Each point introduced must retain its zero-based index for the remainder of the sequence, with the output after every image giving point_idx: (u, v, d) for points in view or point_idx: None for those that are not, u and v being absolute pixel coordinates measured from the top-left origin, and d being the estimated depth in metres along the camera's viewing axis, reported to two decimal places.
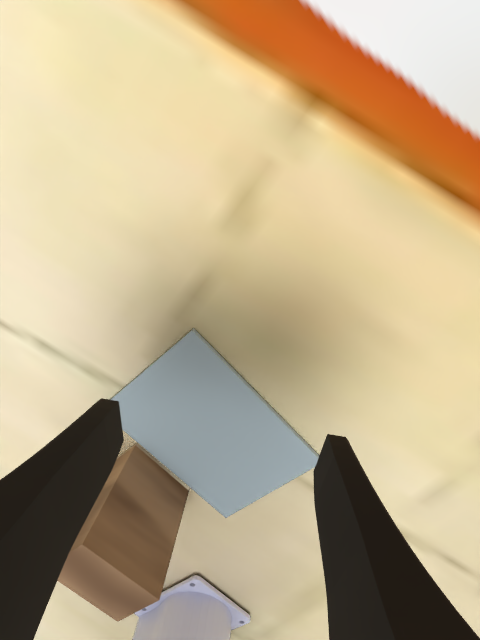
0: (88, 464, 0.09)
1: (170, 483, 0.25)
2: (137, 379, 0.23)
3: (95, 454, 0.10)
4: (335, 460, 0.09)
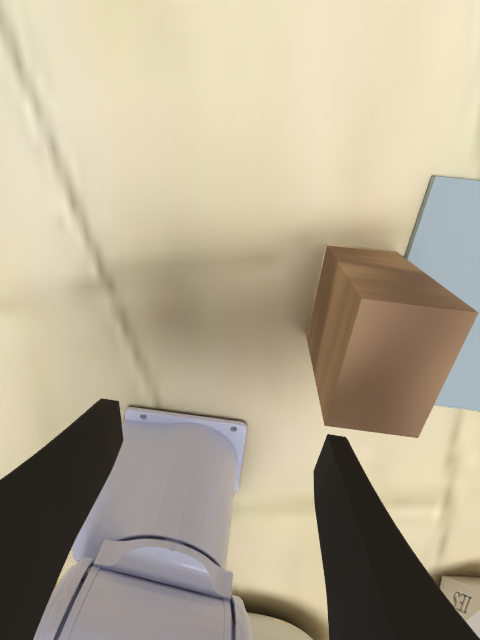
0: (88, 464, 0.09)
1: None
2: None
3: (95, 454, 0.10)
4: (335, 460, 0.09)
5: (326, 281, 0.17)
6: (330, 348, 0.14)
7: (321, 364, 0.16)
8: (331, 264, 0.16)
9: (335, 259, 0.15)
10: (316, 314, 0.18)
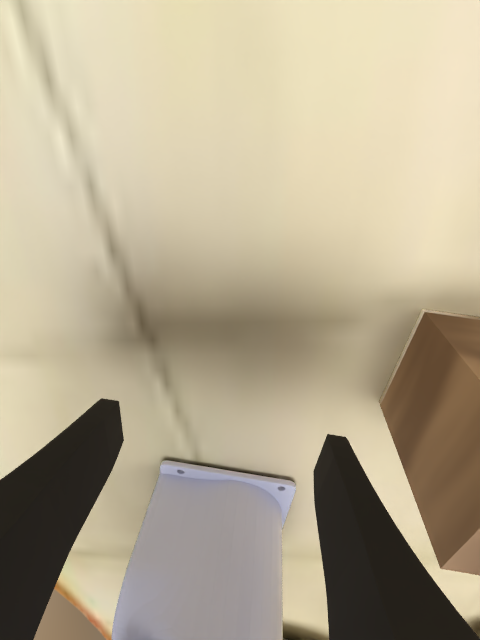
0: (88, 464, 0.09)
1: None
2: None
3: (95, 454, 0.10)
4: (335, 460, 0.09)
5: (428, 363, 0.14)
6: (448, 468, 0.11)
7: (423, 472, 0.13)
8: (440, 347, 0.13)
9: (453, 347, 0.12)
10: (403, 391, 0.15)
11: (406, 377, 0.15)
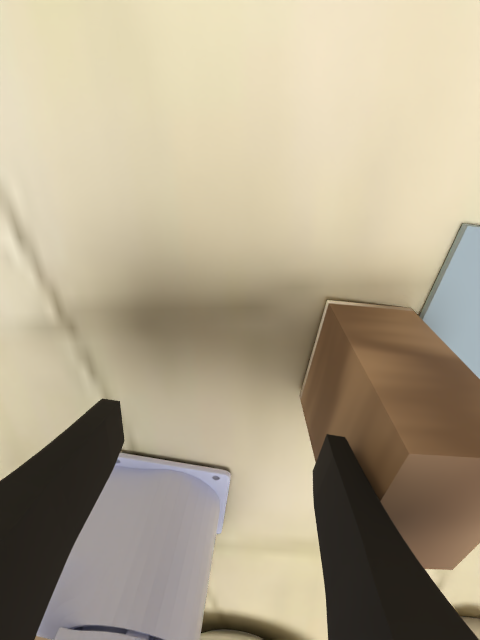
0: (90, 464, 0.09)
1: None
2: None
3: (96, 454, 0.10)
4: (334, 460, 0.09)
5: (331, 355, 0.13)
6: None
7: None
8: (339, 338, 0.13)
9: (347, 338, 0.12)
10: (315, 385, 0.15)
11: (317, 370, 0.15)
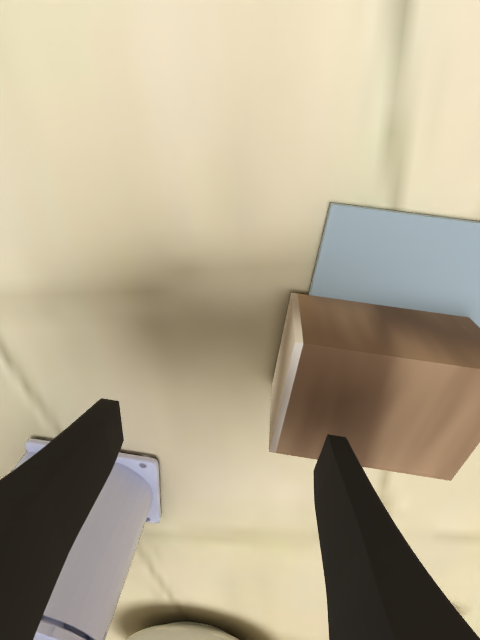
0: (89, 463, 0.09)
1: None
2: (442, 221, 0.12)
3: (95, 454, 0.10)
4: (335, 460, 0.09)
5: (347, 383, 0.12)
6: (428, 432, 0.13)
7: (395, 452, 0.13)
8: (359, 362, 0.11)
9: (383, 355, 0.11)
10: (316, 422, 0.13)
11: (312, 410, 0.13)
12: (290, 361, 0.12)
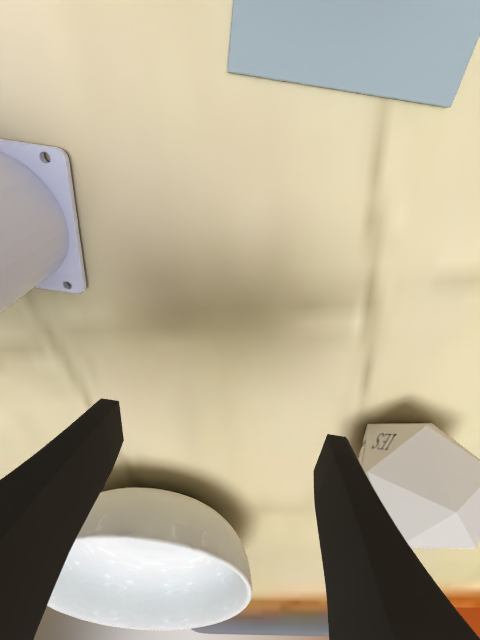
0: (88, 463, 0.09)
1: None
2: None
3: (95, 454, 0.10)
4: (335, 460, 0.09)
5: None
6: None
7: None
8: None
9: None
10: None
11: None
12: None
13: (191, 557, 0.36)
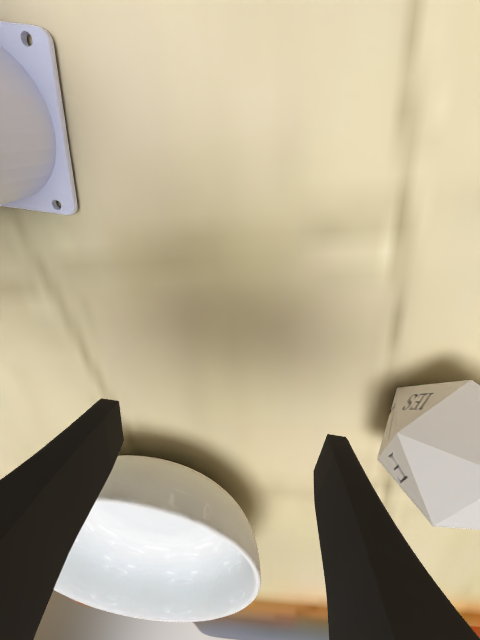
0: (89, 463, 0.09)
1: None
2: None
3: (95, 454, 0.10)
4: (335, 460, 0.09)
5: None
6: None
7: None
8: None
9: None
10: None
11: None
12: None
13: (197, 543, 0.33)
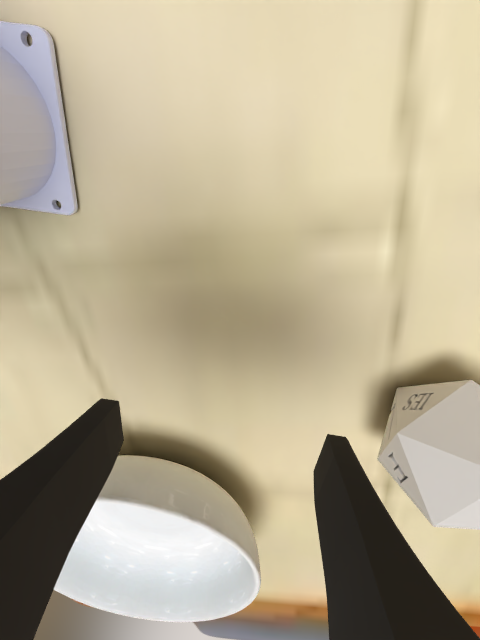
0: (89, 463, 0.09)
1: None
2: None
3: (95, 454, 0.10)
4: (335, 460, 0.09)
5: None
6: None
7: None
8: None
9: None
10: None
11: None
12: None
13: (197, 543, 0.33)
